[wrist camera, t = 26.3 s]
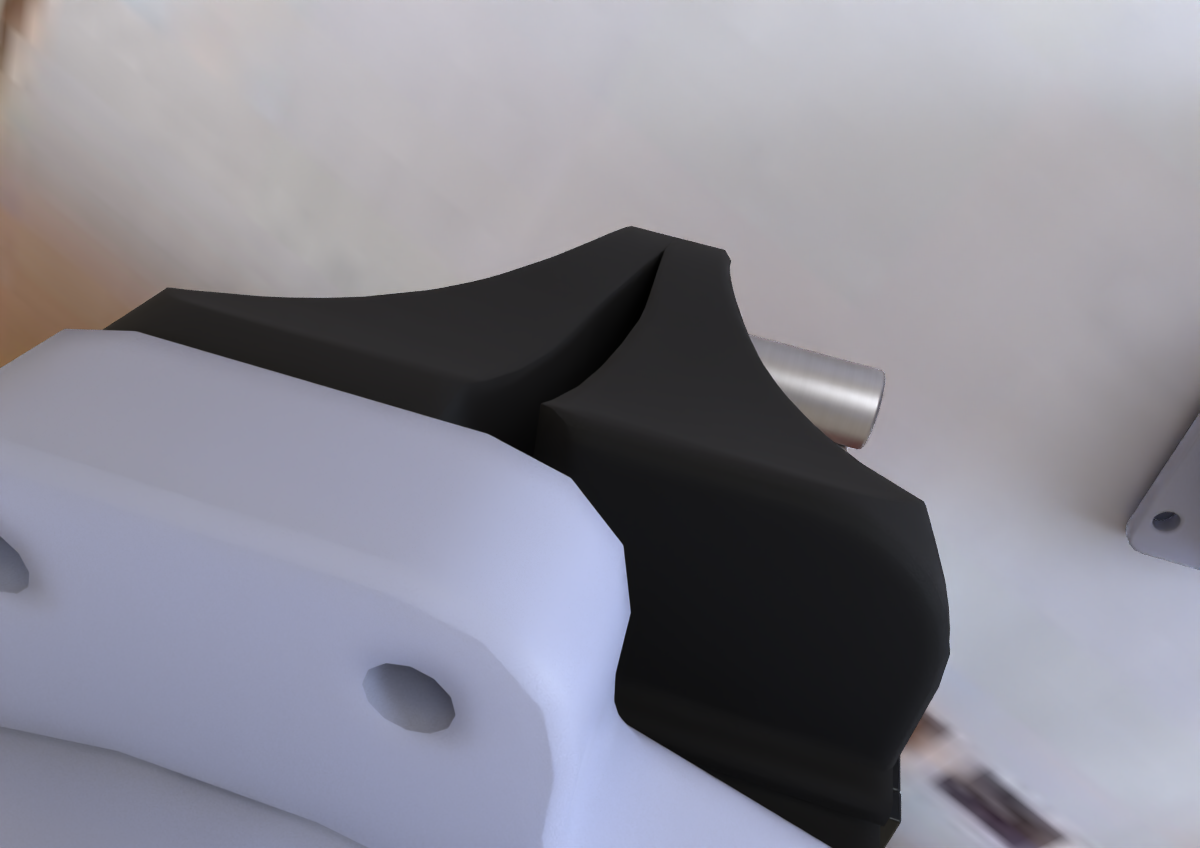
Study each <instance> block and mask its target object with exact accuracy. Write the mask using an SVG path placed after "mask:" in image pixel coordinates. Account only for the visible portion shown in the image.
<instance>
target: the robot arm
mask: <svg viewBox="0 0 1200 848" xmlns="http://www.w3.org/2000/svg"><path fill="white" fill-rule="evenodd" d="M730 263H731V260H730V258H729V256H728V255H727V253H726V251H725V250H723V249H719V248H715V247H711V246H707V245H703V244H699V243H696V242H692V241H688V240H684V239H680V238H676V237H672V236H668V235H664V234H660V233H656V232H652V231H649V230H645V229H641V228H637V227H633V226H630V227H625V228H622V229H620V230H617V231H614V232H612V233H610V234H607V235H605V236H602V237H600V238H598V239H595V240H593V241H591V242H588V243H586V244H584V245H581V246H579V247H576V248H574V249H571V250H569V251H566V252H564V253H561V254H559V255H557V256H554V257H551V258H548V259H545V260H542V261H540V262H537V263H534V264H531V265H528V266H525V267H522V268H519V269H516V270H513V271H510V272H507V273H504V274H500V275H497V276H493V277H490V278H486V279H482V280H477V281H473V282H469V283H464V284H459V285H454V286H449V287H444V288H438V289H432V290H425V291H415V292H406V293H396V294H386V295H377V296H367V297H342V298H285V297H262V296H250V295H239V294H228V293H216V292H205V291H193V290H184V289H176V288H166V289H164V290H163V291H161V292H160V293H158V294H157V295H155V296H154V297H152V298H151V299H149V300H148V301H146V302H145V303H143V304H142V305H140V306H139V307H137V308H135V309H134V310H132V311H131V312H129V313H128V314H126V315H125V316H123V317H122V318H120V319H119V320H117V321H115V322H114V323H112V324H111V325H109V326H108V327H106V328H105V329H103V330H85V329H63V330H62V331H60V332H58V333H57V334H55V335H53V336H52V337H50V338H49V339H47V340H45V341H44V342H42V343H40V344H39V345H37V346H36V347H34V348H32V349H31V350H29V351H27V352H26V353H24V354H23V355H21V356H19V357H18V358H16V359H14V360H13V361H11V362H10V363H8V364H6V365H5V366H3V367H1V368H0V848H880V826H883V827H884V826H885V824H886V822H887V821H888V819H889V817H890V814H891V809H892V805H893V766H894V765H895V763H896V761H897V759H898V758H899V756H900V754H901V752H902V751H903V749H904V747H905V745H906V744H907V742H908V740H909V738H910V737H911V735H912V733H913V731H914V730H915V728H916V726H917V724H918V722H919V721H920V719H921V717H922V715H923V714H924V712H925V710H926V708H927V707H928V705H929V703H930V701H931V700H932V698H933V696H934V694H935V693H936V691H937V689H938V687H939V684H940V682H941V679H942V676H943V673H944V670H945V667H946V664H947V661H948V658H949V655H950V646H949V636H950V623H949V606H948V598H947V591H946V584H945V579H944V574H943V570H942V566H941V562H940V558H939V554H938V549H937V545H936V542H935V538H934V534H933V530H932V526H931V523H930V519H929V515H928V512H927V508H926V505H925V503H924V501H922V500H920V499H919V498H917V497H916V496H914V495H912V494H911V493H909V492H907V491H906V490H904V489H902V488H901V487H899V486H897V485H896V484H894V483H893V482H891V481H889V480H888V479H886V478H884V477H883V476H881V475H879V474H878V473H876V472H875V471H873V470H871V469H870V468H868V467H866V466H865V465H863V464H862V463H861V462H859V461H858V460H856V459H855V458H854V457H853V456H851V455H850V454H849V453H847V452H846V451H845V450H844V449H842V448H841V447H840V446H839V445H837V444H836V443H835V442H833V441H832V440H831V439H830V438H829V437H827V436H826V435H825V434H824V433H823V432H822V431H821V430H820V429H818V428H817V427H816V426H815V425H814V424H813V423H812V422H811V421H810V420H809V419H808V418H807V417H806V416H805V415H804V414H803V413H802V412H801V411H800V410H799V409H798V408H797V406H796V405H795V404H794V403H793V402H792V401H791V400H790V399H789V398H788V397H787V396H786V394H785V393H784V392H783V391H782V390H781V388H780V387H779V386H778V385H777V383H776V382H775V380H774V379H773V377H772V376H771V375H770V373H769V372H768V370H767V369H766V367H765V366H764V364H763V363H762V361H761V359H760V357H759V355H758V353H757V351H756V349H755V347H754V345H753V343H752V341H751V339H750V337H749V335H748V332H747V330H746V327H745V325H744V322H743V319H742V317H741V314H740V311H739V308H738V305H737V302H736V299H735V295H734V291H733V287H732V282H731V276H730ZM1163 512H1173V513H1175V514H1174V515H1173V516H1172V517H1171V518H1168V519H1165V520H1156V519H1154V517H1155V516H1156V515H1158V514H1159V513H1163ZM1125 530H1126V535H1127V538H1128V541H1129V544H1130V545H1131V547H1132V548H1133V549H1134V550H1136V551H1138V552H1140V553H1142V554H1145V555H1149V556H1152V557H1156V558H1159V559H1163V560H1166V561H1170V562H1173V563H1177V564H1180V565H1184V566H1187V567H1191V568H1194V569H1198V570H1200V413H1199V414H1198V416H1197V417H1196V419H1195V420H1194V422H1193V423H1192V425H1191V427H1190V428H1189V430H1188V431H1187V433H1186V434H1185V436H1184V437H1183V439H1182V440H1181V442H1180V443H1179V445H1178V446H1177V448H1176V449H1175V451H1174V452H1173V454H1172V455H1171V457H1170V459H1169V460H1168V462H1167V463H1166V465H1165V466H1164V468H1163V469H1162V471H1161V472H1160V474H1159V475H1158V477H1157V478H1156V480H1155V481H1154V483H1153V484H1152V486H1151V487H1150V489H1149V490H1148V492H1147V494H1146V495H1145V497H1144V498H1143V500H1142V501H1141V503H1140V504H1139V506H1138V507H1137V509H1136V510H1135V512H1134V513H1133V515H1132V516H1131V518H1130V519H1129V521H1128V523H1127V526H1126V528H1125Z"/></svg>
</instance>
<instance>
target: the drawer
mask: <svg viewBox="0 0 1200 848" xmlns="http://www.w3.org/2000/svg"><path fill="white" fill-rule="evenodd" d="M748 335H749V334H748ZM749 337H750V339H751V341H752V343H753V345H754V347H755V349H756V351H757V353H758V355H759V357H760V359H761V361H762V363H763V364H764V366H765V367H766V369H767V370H768V372H769V373H770V375H771V376H772V377H773V379H774V380H775V382H776V383H777V385H778V386H779V387H780V388H781V390H782V391H783V392H784V393H785V394H786V396H787V397H788V398H789V399H790V400H791V401H792V402H793V403H794V404H795V405H796V406H797V408H798V409H799V410H800V411H801V412H802V413H803V414H804V415H805V416H806V417H807V418H808V419H809V420H810V421H811V422H812V423H813V424H814V425H815V426H816V427H817V428H818V429H820V430H821V431H822V432H823V433H824V434H825V435H826V436H827V437H829V438H830V439H831V440H832V441H833V442H835V443H836V444H837V445H839V446H840V447H841V448H842V449H844V450H845V451H847V446H848V447H852V448H855V449H861V448H862V447H863V446H864V445H865V444H866V442H867V440H868V438H869V436H870V434H871V432H872V429H873V427H874V424H875V421H876V418H877V415H878V412H879V409H880V405H881V401H882V397H883V392H884V386H885V373H884V372H883V371H882V370H880V369H876V368H872V367H869V366H865V365H861V364H858V363H854V362H850V361H846V360H843V359H839V358H835V357H831V356H828V355H824V354H820V353H817V352H813V351H809V350H805V349H802V348H798V347H794V346H790V345H787V344H783V343H779V342H776V341H772V340H768V339H764V338H761V337H757V336H753V335H749Z"/></svg>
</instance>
